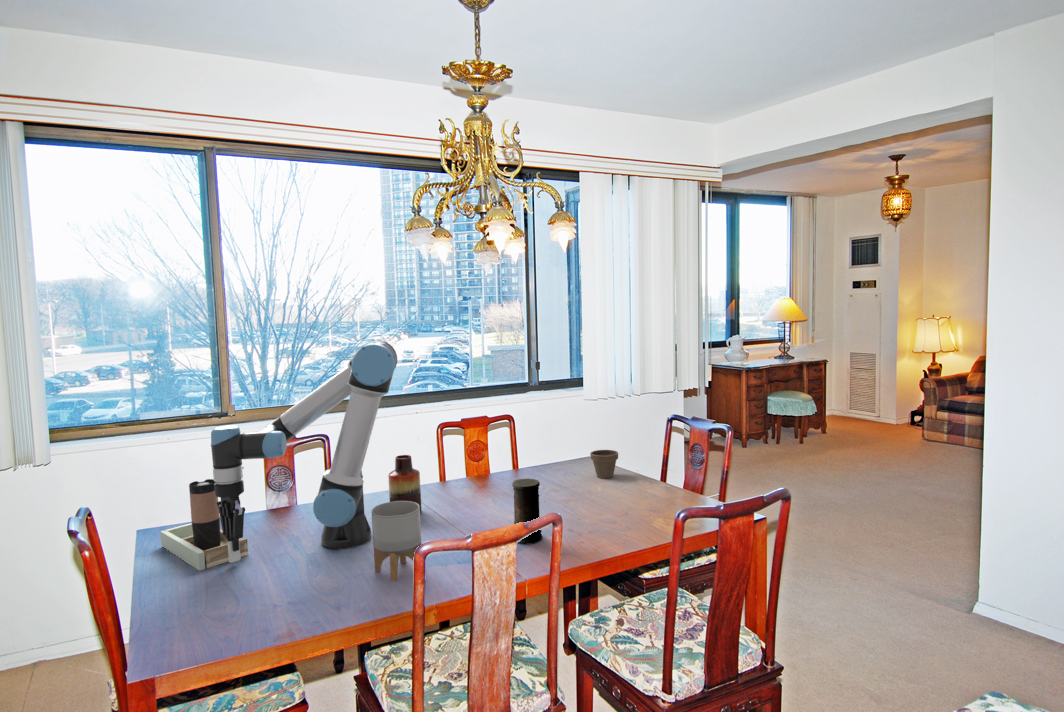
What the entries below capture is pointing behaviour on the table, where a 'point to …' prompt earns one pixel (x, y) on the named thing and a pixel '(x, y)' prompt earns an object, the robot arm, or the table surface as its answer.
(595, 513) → the table surface
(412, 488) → the vase
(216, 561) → the tray
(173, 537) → the bay
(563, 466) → the table surface
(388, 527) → the planter
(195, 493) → the travel mug
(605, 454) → the flower pot
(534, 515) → the container
